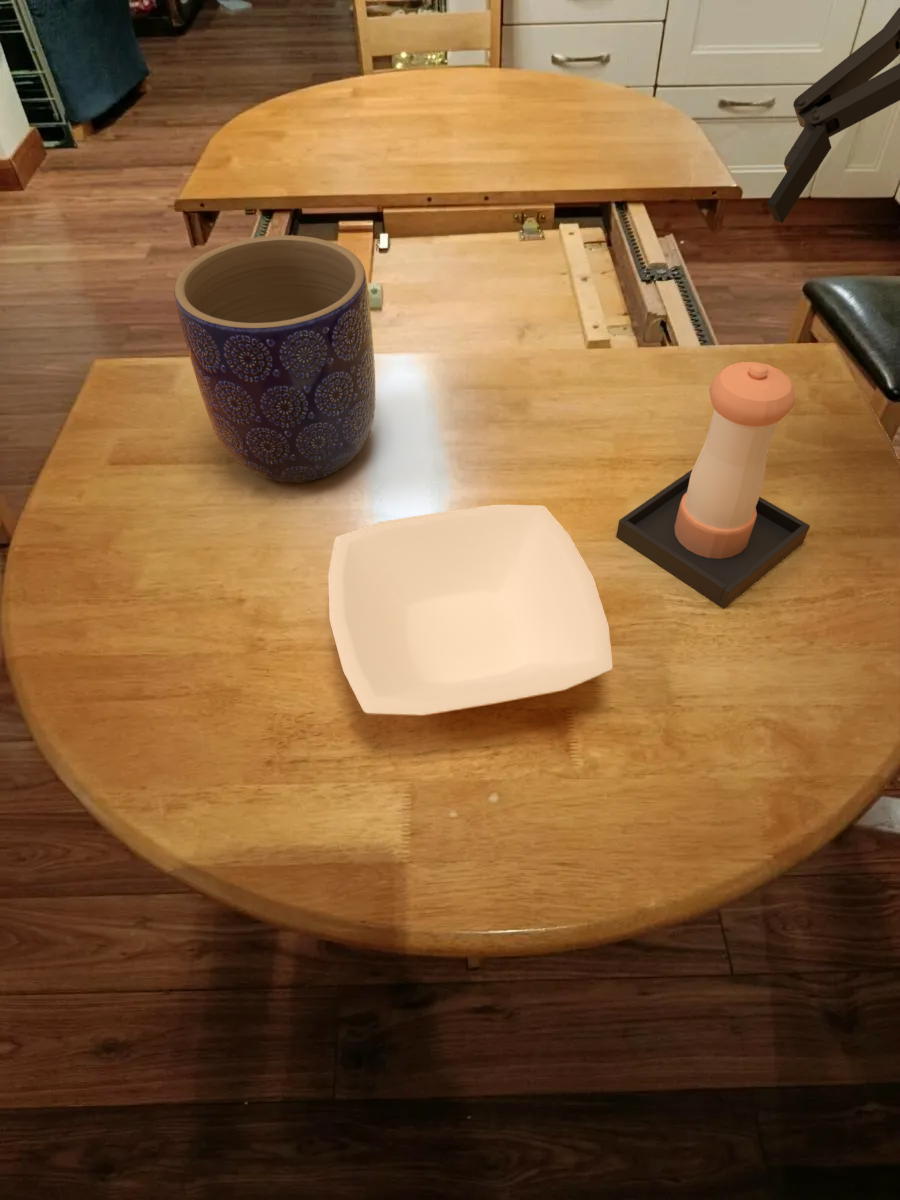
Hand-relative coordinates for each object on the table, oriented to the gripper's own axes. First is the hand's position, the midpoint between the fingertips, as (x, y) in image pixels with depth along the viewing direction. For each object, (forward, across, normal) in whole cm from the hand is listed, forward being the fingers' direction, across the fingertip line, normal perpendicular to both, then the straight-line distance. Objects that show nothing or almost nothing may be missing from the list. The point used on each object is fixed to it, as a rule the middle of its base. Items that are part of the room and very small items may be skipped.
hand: (851, 242), depth 64 cm
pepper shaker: (+24, +2, -17) cm, 29 cm away
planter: (+40, +42, -2) cm, 58 cm away
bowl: (+44, +9, +1) cm, 44 cm away
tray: (+24, +2, -18) cm, 30 cm away
